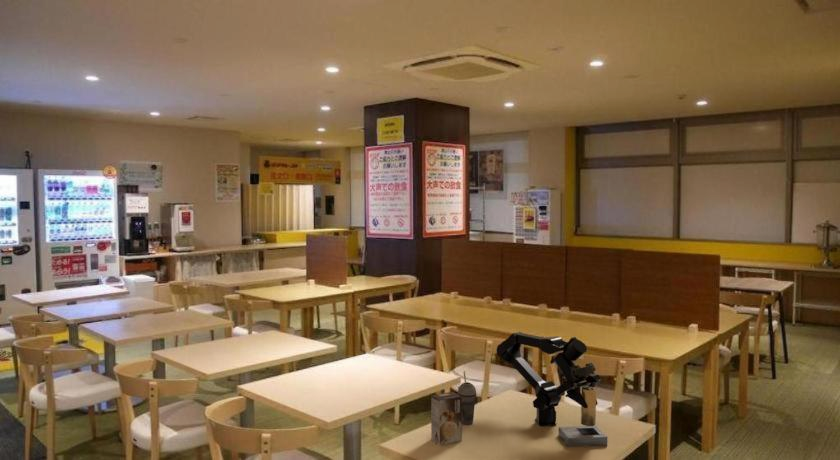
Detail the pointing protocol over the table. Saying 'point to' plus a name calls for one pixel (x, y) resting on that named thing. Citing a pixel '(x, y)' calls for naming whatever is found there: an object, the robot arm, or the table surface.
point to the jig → (582, 436)
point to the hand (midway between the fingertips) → (591, 406)
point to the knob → (589, 406)
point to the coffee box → (446, 418)
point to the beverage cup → (467, 401)
